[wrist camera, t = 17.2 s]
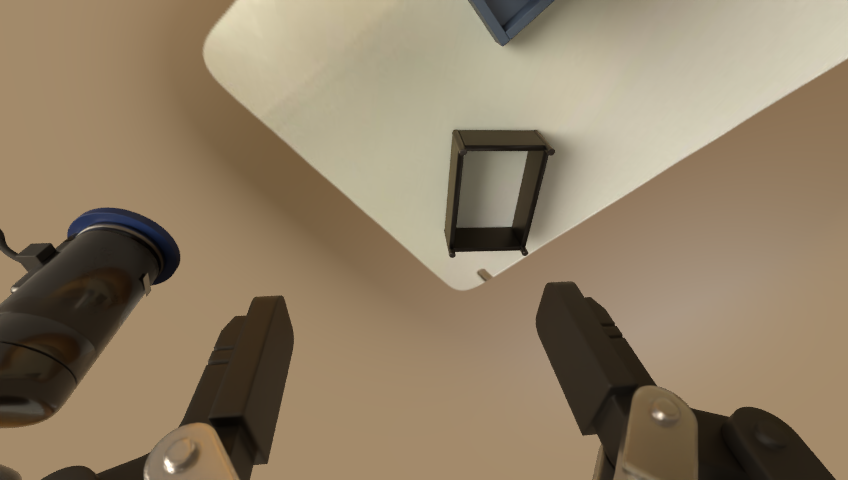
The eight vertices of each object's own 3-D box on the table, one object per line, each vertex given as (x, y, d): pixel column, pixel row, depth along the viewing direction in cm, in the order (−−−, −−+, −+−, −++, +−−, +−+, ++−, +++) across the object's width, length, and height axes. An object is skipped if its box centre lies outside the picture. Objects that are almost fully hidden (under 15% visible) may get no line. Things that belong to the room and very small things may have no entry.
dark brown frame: (444, 232, 46) (449, 258, 42) (452, 129, 38) (459, 149, 34) (515, 231, 47) (527, 256, 43) (538, 129, 39) (555, 148, 35)
